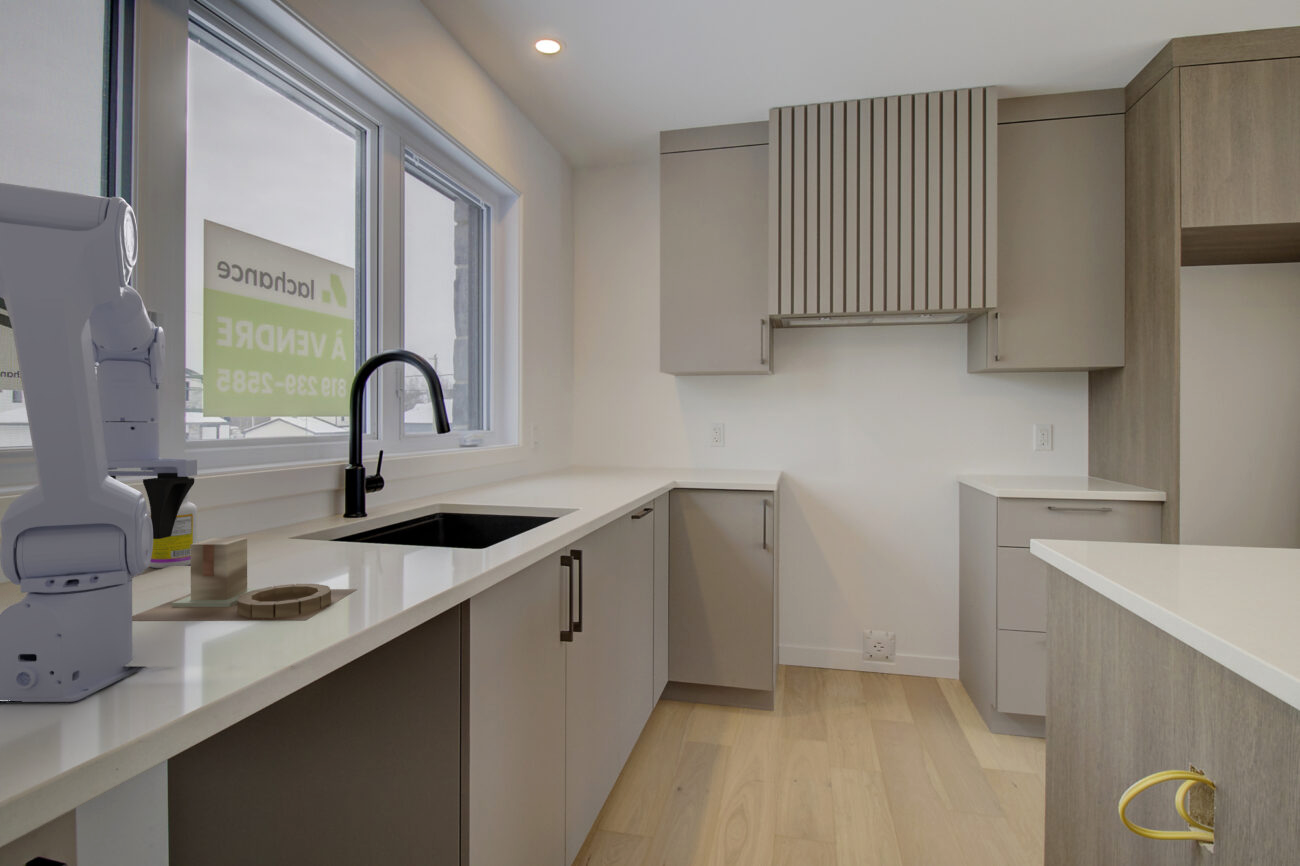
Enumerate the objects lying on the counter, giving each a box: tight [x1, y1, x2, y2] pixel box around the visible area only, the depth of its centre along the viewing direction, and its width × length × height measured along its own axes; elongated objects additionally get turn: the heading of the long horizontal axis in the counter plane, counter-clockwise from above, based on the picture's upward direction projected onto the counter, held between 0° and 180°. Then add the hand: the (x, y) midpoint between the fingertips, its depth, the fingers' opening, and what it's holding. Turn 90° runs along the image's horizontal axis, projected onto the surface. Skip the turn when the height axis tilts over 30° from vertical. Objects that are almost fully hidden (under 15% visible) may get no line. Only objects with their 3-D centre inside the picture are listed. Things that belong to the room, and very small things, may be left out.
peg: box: [190, 537, 248, 600], centre depth 83 cm, size 4×4×7 cm
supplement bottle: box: [147, 489, 198, 569], centre depth 108 cm, size 7×7×13 cm
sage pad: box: [172, 587, 262, 607], centre depth 83 cm, size 7×7×1 cm
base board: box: [132, 583, 358, 622], centre depth 81 cm, size 14×21×3 cm, turn 92°
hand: (129, 537), depth 75 cm, fingers open, 7 cm apart
